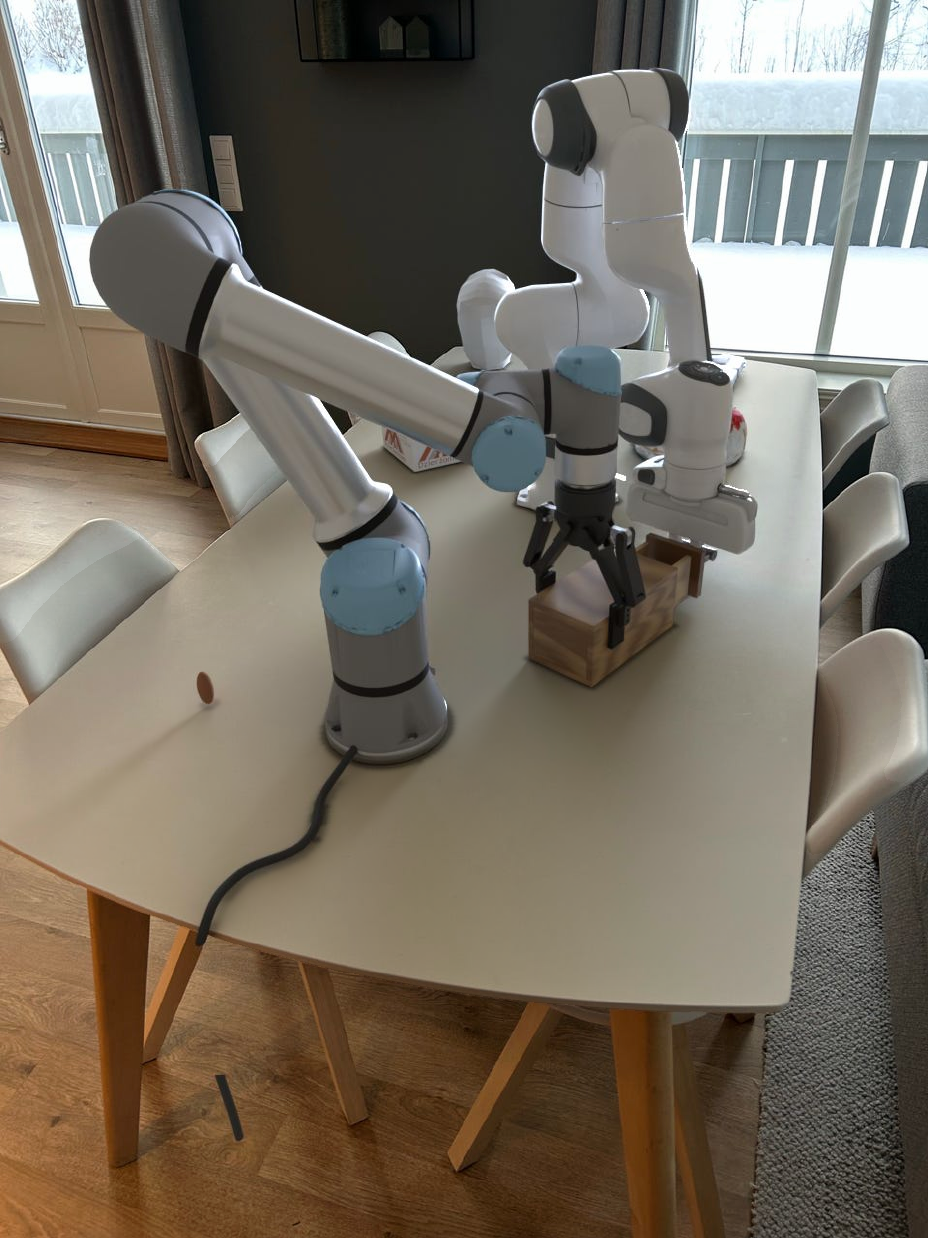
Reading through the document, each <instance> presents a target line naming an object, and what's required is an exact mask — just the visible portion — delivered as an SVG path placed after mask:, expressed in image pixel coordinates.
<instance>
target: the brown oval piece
mask: <svg viewBox="0 0 928 1238" xmlns="http://www.w3.org/2000/svg"><path fill="white" fill-rule="evenodd" d="M196 689H197V694H198V695H199V698H200V700H201V701H202V702H203V703H204V704H206V705H210V704H211V703H212V702H213V701H214V699H215V688H214V683H213V680H212V679H211V677H210V675H209V674H208V673H207V672H206V671H200V672H199V673H198V674H197V677H196Z"/></svg>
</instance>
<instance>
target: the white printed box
mask: <svg viewBox="0 0 928 1238" xmlns="http://www.w3.org/2000/svg"><path fill="white" fill-rule="evenodd" d="M381 433H382V443H383V444H382V445H383V447H384V448H385V449H386V450H387V451H388V452H390V453H391V454H392V455H393V456H394V457H396V458H397V459H398V460H399V461H400V462H401V463H403V464H404V466H407V467H408V469H410V470H412V472H414V473H416V472H420V471H426V470H430V469H435V468H438V467H439V468H440V467H444V466H448V465H452V464H456V463H462V462H461V461H459V460H457V459H455V458H453V457H451V456H448V455H446V454H444V453H441V452H439V451H437V450H434V449H432V448H430V447H428V446H425V445H423V444H421V443H418V442H416V441H414V440H412V439H409V438H407V437H405V436H402V435H400V434H398V433H395V432H393V431H391V430H389V429H386V428H384V427H382V426H381Z"/></svg>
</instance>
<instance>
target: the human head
mask: <svg viewBox="0 0 928 1238" xmlns="http://www.w3.org/2000/svg"><path fill="white" fill-rule="evenodd" d="M513 290H516V288H515V285H514V283H513V282H512V281H511V279H510V278H509V276H508V275H507V274H505V273H503V272H501V271H500V270H497V269H495V268H488V269H487V268H486V269H482V270H479V271H477V272H475V273H473V274H471V275H469V276H468V277H467V279H466V280H465V282H464V283H463V284H462V286H461V287H460V290H459V293H458V295H457V301H456V310H457V325H458V329H459V332H460V336H461V342H462V348H463V352H464V354H465V356H466V358H467V359H468V360H469V362H470V364H471V366H472V368H473V369H477V370H487V371H496V370H500V369H504V368H505V367H506V365H508V364H509V363H510V362H511V356H512V354H513V353H511V352H510V351H508V350H507V349H506V348H505V347H504V346H503V345H502V343H501V342H500V340H499V339H498V336H497V334H496V331H495V325H494V318H495V311H496V308H497V306H498V303H499V301H500V300H501V298H502V297H503V296H504V294H505V293H506V292H510V291H513Z"/></svg>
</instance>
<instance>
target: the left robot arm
mask: <svg viewBox="0 0 928 1238" xmlns="http://www.w3.org/2000/svg"><path fill="white" fill-rule="evenodd" d="M88 256H89V257H88V262H89V270H90V275H91V278H92V282H93V284H94V286H95V289H96V291H97V293H98V296H99V297H100V298H101V300H102V301H103V303H104V304H105V305H106V306H107V307H108V309H109V310H110V312H112V313H113V314H114V315H115V316H116V317H118V319H120V320H121V321H123V322H124V323H126V324H127V325H128V326H130V327H132V328H134V329H135V330H137V331H139V332H141V333H143V334H144V335H146V336H148V337H150V338H153V340H154V339H155V340H156V341H159V342H160V343H163V344H165V345H166V346H170V347H171V348H173V349H175V350H178V351H180V352H183V353H186V354H188V355H190V356H192V357H194V358H196V359H199V360H202V362H203V363H204V364H205V365H206V367H207V369H208V370H209V371H210V373H211V374H212V375H213V377H214V378H215V380H216V381H217V383H218V384H219V385H220V387H221V389H222V390H223V391H224V393H225V394H226V395H227V396H228V398H229V399H230V401H231V402H232V404H233V405H234V407H235V408H236V409H237V411H238V413H240V415H241V416H242V418H243V419H244V421H245V422H246V424H247V425H248V426H249V428H250V429H251V431H252V432H253V434H254V435H255V437H256V438H257V439H258V441H259V442H260V443H261V445H262V446H263V448H264V449H265V450H266V452H267V453H268V455H269V456H270V458H271V459H272V460H273V462H274V463H275V465H276V466H277V467H278V469H279V470H280V472H281V473H282V475H283V476H284V478H285V479H286V480H287V482H288V483H289V484H290V486H291V487H292V489H293V491H295V493H296V495H297V496H298V497H299V498H300V500H301V502H302V503H303V505H304V506H305V507H306V509H307V510H308V511H309V513H310V514H311V516H312V517H313V518H314V523H313V524H314V525H313V528H312V534H311V536H312V538H313V540H314V541H315V543H316V544H317V546H318V547H319V549H320V550H321V551H322V553H323V554H324V555H325V557H326V560H325V561H324V563H323V564H322V566H321V567H322V568H321V571H320V578H319V579H320V580H319V581H320V584H319V597H320V601H321V607H322V608H323V615H324V622H325V628H326V635H327V642H328V649H329V657H330V663H331V664H330V665H331V671H332V677H333V681H332V685H331V689H330V692H329V697H328V701H327V705H326V710H325V714H324V727H325V728H324V729H325V733H326V738H327V741H328V743H329V745H330V746H331V748H333V749H334V750H335V751H336V752H337V753H338V754H339V755H341V756H342V758H341V760H340V761H339V762H338V764H337V765H336V767H335V768H334V770H333V771H332V772H331V774H330V775H329V777H328V778H327V780H325V782H324V784H323V785H322V787H321V789H320V790H319V792H318V794H317V797H316V799H315V802H314V807H313V813H312V814H313V815H312V817H311V818H312V819H311V822H310V825H309V828H308V830H307V832H306V833H305V834H304V836H302V838H300V840H298V841H297V842H296V843H294V844H292V845H291V846H290V847H288V848H286V849H282V850H280V851H278V852H275V853H272V854H269V855H267V856H264V857H261V858H258V859H256V860H253V861H251V862H249V863H247V864H245V865H243V866H241V867H240V868H238V869H237V870H235V872H233V873H232V874H230V875H229V876H228V877H227V878H226V879H225V880H224V881H222V883H221V884H220V885H219V886H218V888H216V890H215V891H214V893H213V894H212V896H211V897H210V899H209V901H208V903H207V905H206V906H205V909H204V913H203V915H202V918H201V920H200V924H199V927H198V930H197V933H196V938H195V942H194V944H195V946H196V947H202V946H203V945H205V944H206V942H207V940H208V935H209V931H210V929H211V926H212V922H213V919H214V916H215V914H216V911H217V909H218V907H219V905H220V904H221V901H222V900H223V898H224V897H225V896H226V894H228V892H229V891H230V890H231V889H232V888H233V887H234V886H235V885H236V884H237V883H238V882H240V881H241V880H242V879H243V878H244V877H247V875H250V874H251V873H253V872H255V871H257V870H260V869H262V868H265V867H268V866H271V865H274V864H276V863H279V862H282V861H285V860H287V859H290V858H292V857H293V856H295V855H298V854H299V853H300V852H301V851H303V850H304V849H305V848H307V846H308V845H310V844H311V842H313V841H314V839H315V837H316V836H317V834H318V832H319V830H320V827H321V822H322V817H323V816H322V815H323V809H324V805H325V802H326V800H327V798H328V795H329V794H330V792H331V790H332V789H333V787H334V786H335V784H336V783H337V781H338V780H339V779H340V777H341V776H342V775H343V773H344V772H345V770H346V769H347V767H348V766H349V764H350V763H351V762H352V761H355V762H358V763H363V764H368V765H390V764H391V765H392V764H398V763H402V762H406V761H409V760H412V759H415V758H417V757H420V756H422V755H424V754H426V753H427V752H429V751H430V750H432V749H433V748H434V747H436V746H437V745H438V743H440V742H441V740H442V739H443V738H444V736H445V734H446V732H447V729H448V725H449V720H448V719H449V717H448V705H447V703H446V700H445V697H444V696H443V694H442V691H441V689H440V688H439V686H438V683H437V682H436V679H435V678H434V676H436V668H435V667H432V666H430V659H429V645H428V644H429V643H428V630H427V629H428V628H427V594H428V593H427V592H428V590H427V588H428V577H429V566H430V559H431V541H430V539H429V538H430V535H429V533H428V530H427V527H426V524H425V522H424V520H423V519H422V517H421V516H420V514H419V513H418V511H416V509H414V508H413V507H412V506H411V505H410V504H408V503H406V502H405V501H403V500H400V499H399V498H398V496H397V495H396V493H395V491H394V490H393V489H392V487H391V486H390V485H389V484H388V483H383V482H378V481H374V480H373V479H372V478H371V477H370V475H369V474H368V471H366V469H365V467H364V466H363V464H362V463H361V462H360V460H359V458H358V457H357V456H356V454H355V452H354V451H353V449H352V447H351V446H350V444H349V443H348V441H347V440H346V439H345V437H344V435H343V434H342V432H341V431H340V429H339V428H338V426H337V425H336V423H335V422H334V420H333V419H332V416H330V414H329V412H328V411H327V409H326V408H325V407H324V405H323V403H322V402H324V403H327V404H329V405H332V406H333V407H336V408H338V409H340V410H343V411H345V412H347V413H350V414H352V415H354V416H357V417H359V418H361V419H364V420H365V421H368V422H370V423H373V424H375V425H377V426H380V427H381V428H382V427H384V428H386V429H389V430H391V431H393V432H395V433H398V434H400V435H402V436H405V437H407V438H409V439H412V440H414V441H416V442H418V443H421V444H423V445H425V446H428V447H430V448H432V449H434V450H437V451H439V452H441V453H444V454H446V455H448V456H451V457H453V458H455V459H457V460H459V461H461V462H460V463H463V464H465V465H468V466H470V467H473V469H474V470H473V471H474V472H475V474H476V476H478V478H479V480H480V481H481V482H482V483H483V484H484V485H485V486H486V487H488V488H490V489H491V490H494V491H497V492H498V493H499V492H500V493H517V492H520V490H523V489H525V488H527V487H529V486H530V485H531V484H533V483H534V482H535V481H536V480H537V478H538V477H539V476H540V474H541V473H542V471H543V469H544V466H545V461H546V439H545V435H549V434H556V438H555V471H554V473H555V476H556V477H557V478H556V479H555V494H554V503H553V502H552V501H548V502H546V503H544V504H542V505H540V506H538V507H536V511H535V523H534V526H533V528H532V532H531V535H530V538H529V542H528V544H527V547H526V550H525V553H524V557H523V559H522V564H523V566H524V567H525V568H530V569H532V571H533V572H532V573H534V575H535V576H534V577H535V579H534V581H535V582H534V583H535V585H534V587H535V594H538V593H539V592H541V591H543V590H544V589H546V588H547V587H549V586H551V585H552V584H554V583H556V582H557V571H556V570H553V569H552V568H554V567H555V563H556V562H557V560H558V559H559V558H560V557H561V555H562V554H563V553H564V552H565V549H566V548H567V547H568V546H571V547H578V548H580V549H582V550H583V551H585V552H587V553H589V555H590V558H591V560H596V562H597V564H598V566H599V569H600V571H601V573H602V575H603V577H604V580H605V582H606V584H607V586H608V589H609V591H610V593H611V595H612V597H613V600H614V602H613V603H612V604H610V605H609V625H608V644H607V648H609V649H614V648H615V647H616V646H618V645H619V644H620V643H622V642H623V641H624V631H625V626H626V625H627V624H629V622H630V616H631V615H630V614H631V608H634V607H635V606H637V605H638V604H639V603H641V602H642V601H644V600H645V599H646V593H645V589H644V584H643V580H642V576H641V571H640V567H639V563H638V558H637V554H636V550H635V548H636V546H635V542H636V528H634V526H628V527H626V528H624V527H621V526H618V525H616V523H615V520H614V517H613V515H614V510H615V506H616V502H615V498H616V493H617V479H615V478H616V477H615V476H616V473H617V470H618V454H619V453H618V452H619V450H618V449H619V419H620V404H621V395H622V391H621V386H622V359H621V357H620V355H619V354H618V353H617V352H616V351H615V350H614V349H610V348H607V347H603V346H596V345H579V346H577V347H568V348H565V349H563V350H561V351H560V352H559V353H558V355H557V358H556V363H555V368H548V369H538V370H528V369H513V370H512V369H511V370H509V369H508V370H489V371H487V370H482V369H480V370H479V371H472V372H464V373H463V372H462V373H459V374H458V375H456V377H454V376H453V375H450V374H448V373H446V372H444V371H441V370H439V369H437V368H435V367H433V366H431V365H429V364H426V363H425V362H422V361H420V360H418V359H416V358H414V357H411V356H409V355H407V354H406V353H402V352H401V351H399V350H396V349H394V348H392V347H390V346H388V345H385V344H384V343H382V342H378V341H377V340H375V339H372V338H371V337H369V336H366V335H363V334H361V333H359V332H357V331H355V330H353V329H351V328H349V327H347V326H344V325H343V324H340V323H338V322H335V321H333V320H331V319H329V318H327V317H325V316H323V315H321V314H318V313H316V312H314V311H312V310H310V309H307V308H305V307H303V306H301V305H299V304H297V303H294V302H293V301H290V300H288V299H286V298H283V297H281V296H279V295H277V294H275V293H272V292H270V291H268V290H266V289H264V288H263V286H262V285H261V283H260V282H259V280H258V279H257V277H256V276H255V274H254V273H253V271H252V269H251V268H250V266H249V264H248V263H247V261H246V260H245V258H244V257H243V248H242V242H241V238H240V235H239V233H238V229H237V227H236V225H235V224H234V222H233V220H232V219H231V217H230V216H229V214H228V213H227V211H225V209H224V208H223V207H221V206H220V205H219V204H218V203H216V201H214V200H212V199H211V198H209V196H208V197H207V196H206V195H204V194H202V193H199V192H196V191H194V190H193V191H192V190H188V189H175V188H171V189H161V190H156V191H153V192H152V193H150V194H148V195H146V196H142V198H141V199H139V200H137V201H135V202H133V203H130V204H126V205H124V206H122V207H119V208H118V209H116V210H114V211H113V212H111V213H110V214H109V215H107V216H106V217H105V218H104V219H103V220H102V222H101V223H100V224H99V226H98V227H97V229H96V230H95V232H94V234H93V237H92V240H91V243H90V247H89V255H88ZM321 401H322V402H321ZM617 474H618V473H617ZM554 504H555V506H554ZM554 521H555V522H556V523H557V526H558V527H559V530H558V532H557V533H556V535H555V536H554V537H553V539H552V542H551V543H550V545H549V546H548V548H547V549H546V551H545V548H546V545H547V543H548V539H549V536H550V533H551V531H552V528H553V525H554ZM611 537H612V538H611ZM612 539H613V540H612ZM601 546H602V548H600V549H599V547H601ZM614 546H615V547H614ZM614 548H615V552H616V555H615V553H614ZM544 551H545V552H544ZM550 569H551V570H550ZM622 594H623V595H622ZM214 1078H215V1081H216V1083H217V1087H218V1089H219V1092H220V1095H221V1098H222V1100H223V1104H224V1107H225V1110H226V1113H227V1116H228V1119H229V1122H230V1123H229V1124H230V1125H231V1129H232V1133H233V1137H234V1140H235V1141H236V1142H241V1141H242V1140H243V1139H244V1136H245V1135H244V1131H243V1128H242V1124H241V1123H242V1122H241V1120H240V1117H239V1113H238V1110H237V1107H236V1103H235V1101H234V1098H233V1095H232V1091H231V1089H230V1086H229V1083H228V1080H227V1076H226V1074H214Z"/></svg>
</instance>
